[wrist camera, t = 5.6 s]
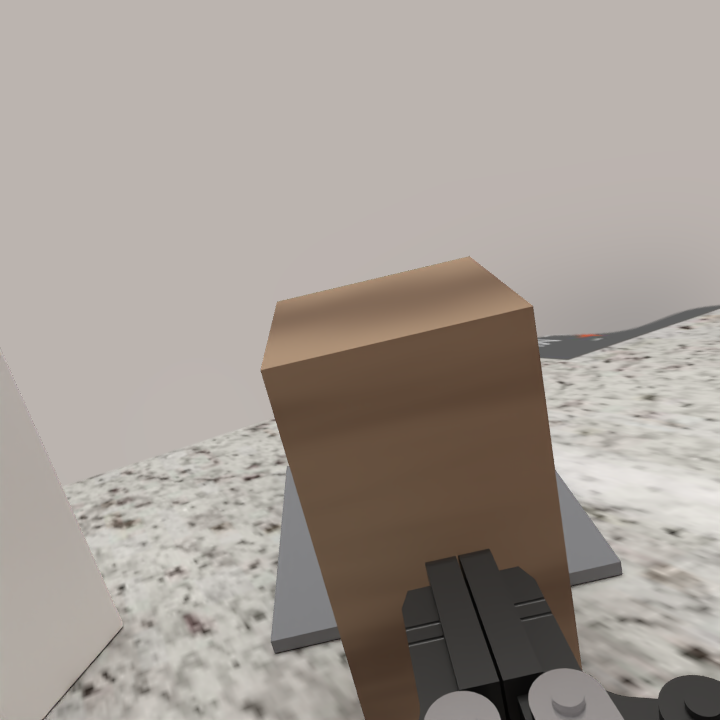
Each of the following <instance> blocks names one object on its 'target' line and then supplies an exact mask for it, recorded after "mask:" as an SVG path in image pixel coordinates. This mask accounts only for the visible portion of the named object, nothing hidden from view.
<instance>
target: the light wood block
mask: <svg viewBox="0 0 720 720" xmlns="http://www.w3.org/2000/svg"><path fill="white" fill-rule="evenodd" d="M261 373H262V376H263V380H264V383H265V387H266V390H267V393H268V397H269V400H270V403H271V407H272V410H273V413H274V417H275V420H276V423H277V427H278V430H279V433H280V437H281V440H282V443H283V447H284V450H285V453H286V457H287V460H288V463H289V467H290V470H291V473H292V477H293V480H294V483H295V487H296V490H297V493H298V497H299V500H300V503H301V507H302V510H303V513H304V517H305V520H306V523H307V527H308V530H309V533H310V537H311V540H312V543H313V547H314V550H315V554H316V557H317V560H318V564H319V567H320V570H321V574H322V577H323V580H324V584H325V587H326V590H327V594H328V597H329V600H330V604H331V607H332V610H333V614H334V617H335V620H336V624H337V627H338V630H339V634H340V637H341V640H342V644H343V647H344V650H345V654H346V657H347V660H348V664H349V667H350V670H351V674H352V677H353V680H354V684H355V687H356V690H357V694H358V697H359V700H360V704H361V707H362V710H363V714H364V717H365V720H419V716H420V703H419V698H418V693H417V688H416V682H415V677H414V672H413V667H412V661H411V656H410V651H409V645H408V640H407V635H406V629H405V625H404V619H403V614H402V606H403V603H404V600H405V597H406V594H407V591H409V590H414V589H418V588H423V587H427V586H429V581H428V576H427V572H426V567H425V562H430V561H434V560H439V559H443V558H448V557H452V556H456V558H457V560H458V555H462V554H466V553H471V552H475V551H480V550H484V549H490V551H491V553H492V555H493V557H494V560H495V562H496V564H497V567H498V569H499V570H504V569H508V568H513V567H517V566H519V567H520V568H521V569H523V570H524V571H525V572H526V573H528V574H529V575H530V576H532V577H533V578H534V579H535V580H536V582H537V584H538V586H539V588H540V590H541V592H542V594H543V596H544V598H545V600H546V601H547V603H548V605H549V607H550V609H551V611H552V615H554V617H555V619H556V621H557V623H558V625H559V627H560V629H561V631H562V633H563V635H564V637H565V639H566V641H567V643H568V645H569V647H570V649H571V651H572V652H573V654H574V656H575V658H576V660H577V662H578V664H579V666H580V668H581V670H582V666H581V659H580V651H579V644H578V636H577V629H576V622H575V614H574V607H573V599H572V592H571V584H570V577H569V570H568V562H567V555H566V547H565V540H564V533H563V525H562V518H561V510H560V503H559V495H558V488H557V481H556V473H555V466H554V458H553V451H552V444H551V436H550V429H549V421H548V414H547V406H546V399H545V392H544V384H543V377H542V369H541V362H540V354H539V347H538V340H537V332H536V325H535V318H534V310H533V306H532V305H531V304H529V303H528V302H527V301H526V300H524V299H523V298H522V297H521V296H519V295H518V294H517V293H515V292H514V291H513V290H511V289H510V288H509V287H508V286H507V285H505V284H504V283H503V282H501V281H500V280H499V279H498V278H496V277H495V276H494V275H493V274H491V273H490V272H489V271H487V270H486V269H485V268H484V267H482V266H481V265H480V264H478V263H477V262H476V261H475V260H473V259H472V258H471V257H465V258H461V259H456V260H452V261H448V262H443V263H440V264H435V265H431V266H427V267H422V268H418V269H414V270H410V271H405V272H401V273H397V274H393V275H388V276H384V277H380V278H376V279H372V280H367V281H363V282H359V283H355V284H350V285H346V286H342V287H338V288H333V289H329V290H325V291H321V292H316V293H312V294H308V295H304V296H300V297H296V298H291V299H287V300H283V301H279V302H277V305H276V309H275V313H274V317H273V321H272V325H271V330H270V333H269V338H268V342H267V346H266V350H265V354H264V358H263V362H262V366H261ZM458 563H459V562H458Z"/></svg>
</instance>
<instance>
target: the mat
mask: <svg viewBox="0 0 720 720" xmlns="http://www.w3.org/2000/svg"><path fill="white" fill-rule="evenodd" d="M555 473H556V481H557V488H558V495H559V503H560V510H561V518H562V525H563V533H564V540H565V547H566V555H567V562H568V570H569V577H570V584H571V586H572V585H576V584H580V583H585V582H589V581H594V580H598V579H602V578H607V577H611V576H616V575H620V574H622V567H621V561H620V560H619V558H618V557H617V555H616V554H615V553H614V551H613V550H612V548H611V547H610V546H609V544H608V543H607V541H606V540H605V539H604V537H603V536H602V534H601V533H600V532H599V530H598V529H597V527H596V526H595V525H594V523H593V522H592V520H591V519H590V518H589V516H588V515H587V513H586V512H585V511H584V509H583V508H582V507H581V505H580V504H579V502H578V501H577V500H576V498H575V497H574V495H573V494H572V493H571V491H570V490H569V488H568V487H567V486H566V484H565V483H564V481H563V480H562V479H561V477H560V476H559V474H558V473H557V472H556V470H555ZM339 638H341V637H340V634H339V630H338V627H337V624H336V620H335V617H334V614H333V610H332V607H331V604H330V600H329V597H328V594H327V590H326V587H325V584H324V580H323V577H322V574H321V570H320V567H319V564H318V560H317V557H316V554H315V550H314V547H313V543H312V540H311V537H310V533H309V530H308V527H307V523H306V520H305V517H304V513H303V510H302V507H301V503H300V500H299V497H298V493H297V490H296V487H295V483H294V480H293V477H292V473H291V470H290V467H289V466H287V471H286V482H285V493H284V504H283V514H282V525H281V536H280V547H279V558H278V569H277V580H276V591H275V602H274V613H273V624H272V634H271V643H272V646H273V649H274V652H275V653H278V652H282V651H287V650H291V649H295V648H300V647H304V646H309V645H313V644H317V643H322V642H326V641H331V640H335V639H339Z"/></svg>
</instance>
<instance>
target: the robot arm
mask: <svg viewBox="0 0 720 720" xmlns="http://www.w3.org/2000/svg"><path fill="white" fill-rule="evenodd" d="M458 562H459V563H458ZM425 567H426V572H427V576H428V581H429V586H427V587H423V588H418V589H414V590H409V591H407V594H406V597H405V600H404V603H403V606H402V614H403V619H404V625H405V629H406V635H407V640H408V645H409V651H410V656H411V661H412V667H413V672H414V677H415V682H416V688H417V693H418V698H419V703H420V716H419V720H720V681H717V680H715V679H712V678H709V677H705V676H698V675H687V676H681V677H677V678H674V679H672V680H670V681H669V682H668V683H666V684H665V685H664V686H663V688H662V689H661V691H660V693H659V697H658V699H652V698H638V697H627V696H621V695H617V694H614V693H611V692H608V691H606V690H605V689H604V687H603V686H602V685H601V684H600V683H599V682H598V681H597V680H596V679H595V678H593V677H592V676H590V675H588V674H586V673H584V672H583V671H582V670H581V668H580V666H579V664H578V662H577V660H576V658H575V656H574V654H573V652H572V651H571V649H570V647H569V645H568V643H567V641H566V639H565V637H564V635H563V633H562V631H561V629H560V627H559V625H558V623H557V621H556V619H555V617H554V615H552V611H551V609H550V607H549V605H548V603H547V601H546V600H545V598H544V596H543V594H542V592H541V590H540V588H539V586H538V584H537V582H536V580H535V579H534V578H533V577H532V576H530V575H529V574H528V573H526V572H525V571H524V570H523V569H521V568H520V567H519V566H517V567H513V568H508V569H504V570H499V569H498V567H497V564H496V562H495V560H494V557H493V555H492V553H491V551H490V549H484V550H480V551H475V552H471V553H466V554H462V555H458V560H457V558H456V556H452V557H448V558H443V559H439V560H434V561H430V562H425Z"/></svg>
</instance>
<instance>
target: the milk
mask: <svg viewBox="0 0 720 720" xmlns="http://www.w3.org/2000/svg"><path fill="white" fill-rule="evenodd" d="M122 627H123V622H122V620H121V618H120V615H119V613H118V611H117V609H116V606H115V604H114V602H113V600H112V597H111V595H110V593H109V591H108V588H107V586H106V584H105V582H104V579H103V577H102V575H101V573H100V570H99V568H98V566H97V564H96V562H95V559H94V557H93V555H92V553H91V550H90V548H89V546H88V544H87V541H86V539H85V537H84V535H83V532H82V530H81V528H80V526H79V523H78V521H77V519H76V517H75V514H74V512H73V510H72V508H71V505H70V503H69V501H68V499H67V497H66V494H65V492H64V490H63V488H62V485H61V483H60V481H59V479H58V477H57V474H56V472H55V470H54V467H53V465H52V463H51V461H50V458H49V456H48V454H47V452H46V449H45V447H44V445H43V443H42V441H41V439H40V436H39V434H38V432H37V429H36V427H35V425H34V423H33V421H32V418H31V416H30V414H29V411H28V409H27V407H26V405H25V402H24V400H23V398H22V396H21V393H20V391H19V389H18V387H17V384H16V382H15V380H14V378H13V375H12V373H11V371H10V369H9V366H8V364H7V362H6V360H5V358H4V355H3V353H2V351H1V349H0V720H42V719H43V718H44V717H45V716H46V714H47V713H48V712H49V711H50V710H51V709H52V708H53V706H54V705H55V704H56V703H57V702H58V701H59V699H60V698H61V697H62V696H63V695H64V694H65V693H66V691H67V690H68V689H69V688H70V687H71V686H72V684H73V683H74V682H75V681H76V680H77V679H78V678H79V676H80V675H81V674H82V673H83V672H84V671H85V670H86V668H87V667H88V666H89V665H90V664H91V663H92V661H93V660H94V659H95V658H96V657H97V656H98V655H99V653H100V652H101V651H102V650H103V649H104V648H105V646H106V645H107V644H108V643H109V642H110V641H111V640H112V638H113V637H114V636H115V635H116V634H117V633H118V631H119V630H120V629H121V628H122Z"/></svg>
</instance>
